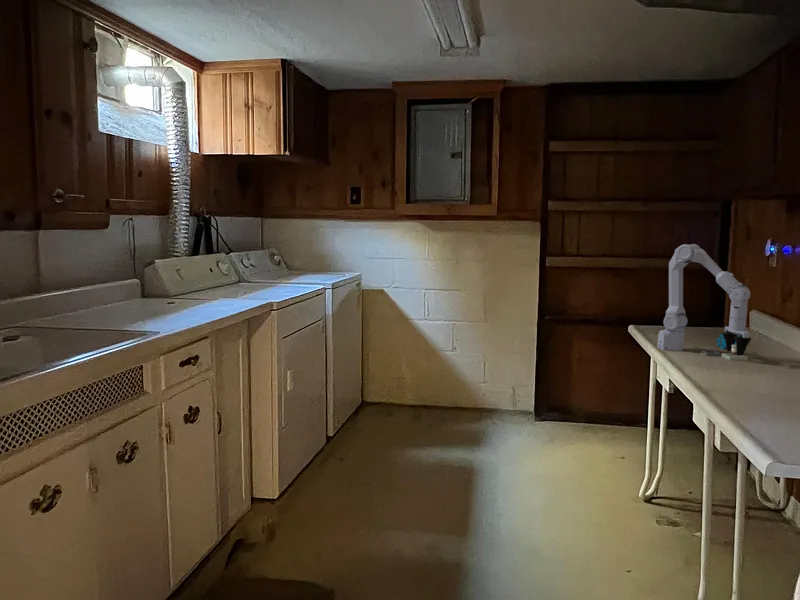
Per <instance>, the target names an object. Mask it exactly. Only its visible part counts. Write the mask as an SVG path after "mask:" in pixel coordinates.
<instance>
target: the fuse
mask: <svg viewBox="0 0 800 600" xmlns="http://www.w3.org/2000/svg"><path fill="white" fill-rule="evenodd" d="M731 347H732V349H731V351H730V353H731V356H738V355H737V352H736V345H731Z"/></svg>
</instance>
